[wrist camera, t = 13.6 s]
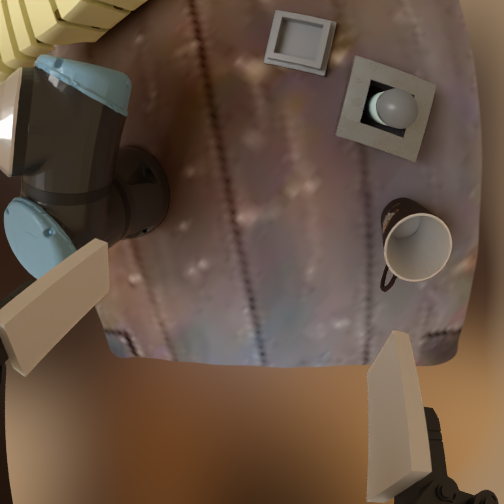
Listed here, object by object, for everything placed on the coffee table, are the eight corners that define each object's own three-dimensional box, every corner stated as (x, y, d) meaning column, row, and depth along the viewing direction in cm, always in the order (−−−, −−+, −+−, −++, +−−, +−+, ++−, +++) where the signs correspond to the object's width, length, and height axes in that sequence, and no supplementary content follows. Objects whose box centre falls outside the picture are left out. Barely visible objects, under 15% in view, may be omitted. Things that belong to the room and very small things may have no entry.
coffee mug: (408, 178, 39) (429, 198, 30) (439, 224, 40) (462, 254, 32) (345, 226, 44) (348, 257, 35) (378, 268, 46) (387, 306, 37)
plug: (368, 89, 35) (384, 82, 25) (396, 99, 35) (422, 97, 24) (361, 117, 37) (374, 120, 27) (389, 127, 37) (412, 134, 26)
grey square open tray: (264, 63, 37) (260, 60, 34) (277, 12, 33) (273, 5, 30) (324, 76, 36) (324, 74, 33) (336, 24, 32) (337, 18, 29)
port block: (334, 131, 39) (335, 135, 34) (351, 62, 34) (355, 55, 29) (403, 155, 38) (415, 162, 32) (422, 87, 33) (436, 85, 28)
